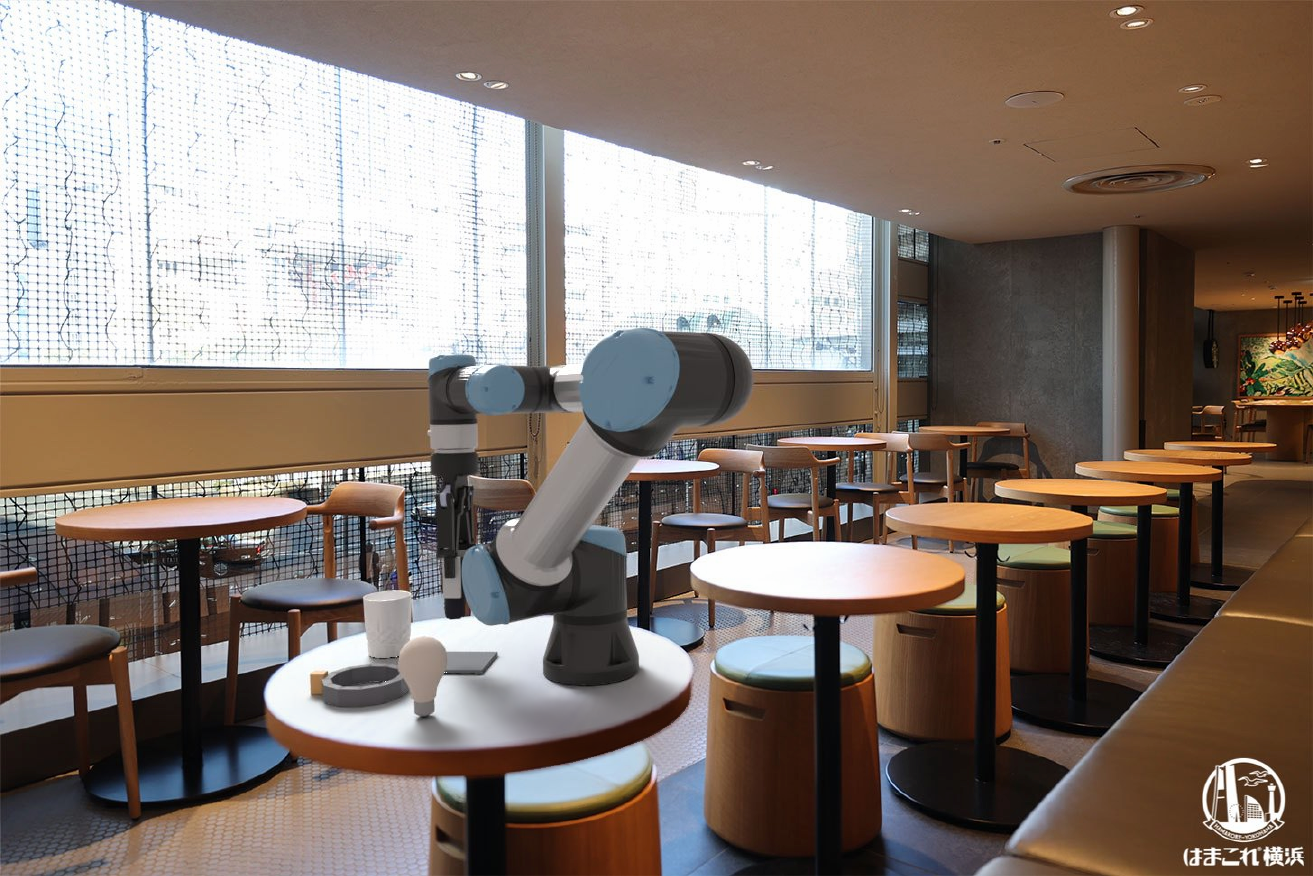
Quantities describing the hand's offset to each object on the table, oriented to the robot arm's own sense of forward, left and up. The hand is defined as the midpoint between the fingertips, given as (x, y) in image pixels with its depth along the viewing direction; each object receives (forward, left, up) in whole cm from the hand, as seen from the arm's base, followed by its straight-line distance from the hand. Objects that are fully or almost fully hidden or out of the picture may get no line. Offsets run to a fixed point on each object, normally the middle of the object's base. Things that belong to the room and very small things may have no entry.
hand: (457, 593), depth 142 cm
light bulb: (-2, +24, -12) cm, 26 cm away
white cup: (+14, -6, -12) cm, 19 cm away
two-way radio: (0, 0, -4) cm, 4 cm away
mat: (0, 0, -12) cm, 12 cm away
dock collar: (+11, +14, -12) cm, 21 cm away
